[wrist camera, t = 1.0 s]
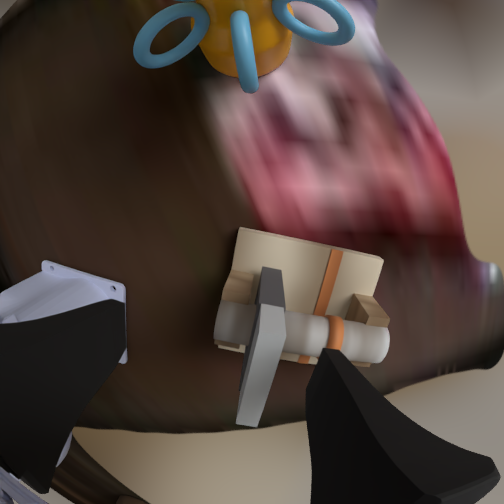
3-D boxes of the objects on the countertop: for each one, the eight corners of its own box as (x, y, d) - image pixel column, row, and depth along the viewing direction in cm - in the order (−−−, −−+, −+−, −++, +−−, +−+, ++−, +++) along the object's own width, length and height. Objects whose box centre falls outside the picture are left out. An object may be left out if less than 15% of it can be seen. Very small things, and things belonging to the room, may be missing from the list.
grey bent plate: (246, 338, 19) (233, 423, 11) (262, 266, 17) (256, 330, 10) (263, 342, 19) (259, 427, 11) (281, 269, 17) (289, 336, 10)
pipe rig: (220, 340, 21) (205, 389, 15) (240, 227, 19) (227, 247, 13) (341, 360, 21) (358, 409, 15) (378, 256, 18) (415, 285, 13)
